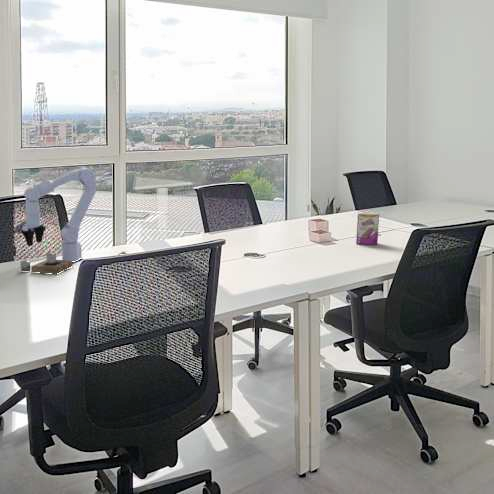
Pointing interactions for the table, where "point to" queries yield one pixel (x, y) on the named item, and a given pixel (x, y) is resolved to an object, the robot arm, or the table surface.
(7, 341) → the table surface
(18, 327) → the table surface
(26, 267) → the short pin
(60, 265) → the wooden square frame
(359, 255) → the table surface
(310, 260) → the table surface
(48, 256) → the tall pin
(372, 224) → the candy bar box
